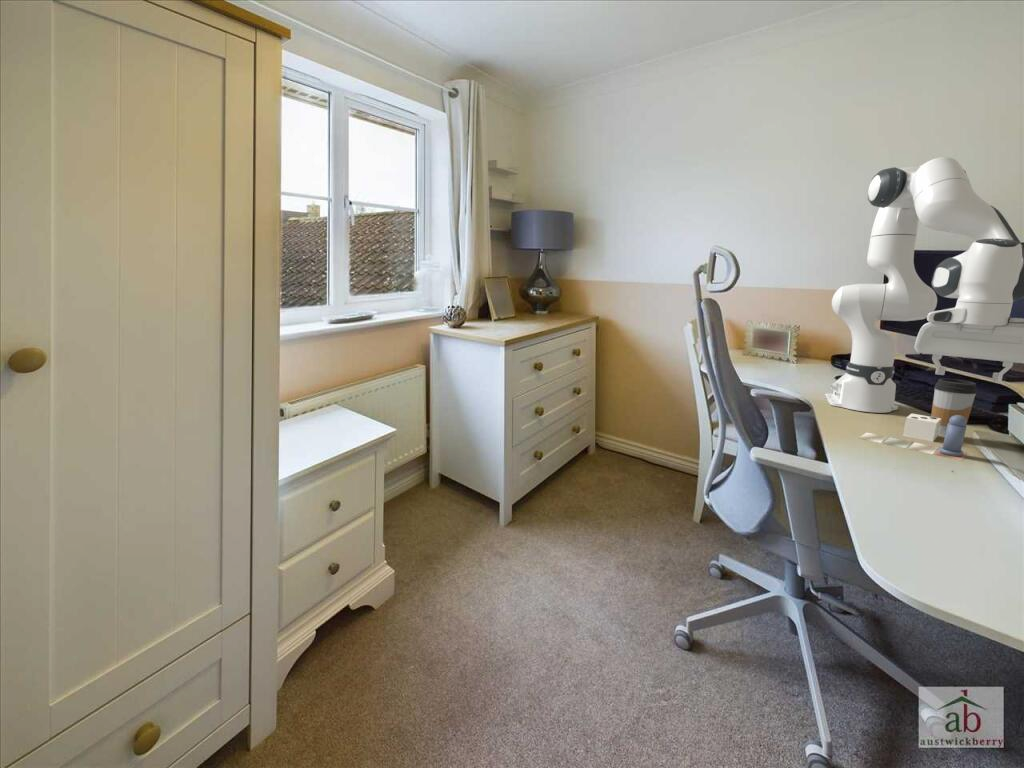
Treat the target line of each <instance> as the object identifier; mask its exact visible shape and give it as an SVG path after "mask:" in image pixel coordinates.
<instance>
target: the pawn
mask: <svg viewBox="0 0 1024 768" xmlns="http://www.w3.org/2000/svg"><path fill="white" fill-rule="evenodd" d="M967 424H968V421H967V420H966V419H965V418H964V417H963V416H961V415H954V416H952V417H951V418H950V419H949V423H948V425H947V429H946V434H945V436H944V440H943V444H942V446H940V447H939V450H940V451H939V450H938V451H939V452H940V453H941V454H944V455H947V456H952V457H962V455H963V452H964V451H963V450H962V448H963V444H964V439H965V434H966V431H967ZM965 425H966V426H965Z"/></svg>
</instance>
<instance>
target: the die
mask: <svg viewBox="0 0 1024 768" xmlns="http://www.w3.org/2000/svg"><path fill="white" fill-rule="evenodd" d="M940 422H941V418H935V417H931V416H929V415H928V416H927V415H924V414H917V413H910V414H909V415H908V416H906V417H905V423H904V428H903V434H902V436H903V437H908V438H912V439H918V440H921V441H922V440H923V441H928V442H934V441H936V439H937V438H938V435H939V434H938V432H939V427H940Z"/></svg>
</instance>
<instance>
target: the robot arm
mask: <svg viewBox="0 0 1024 768" xmlns="http://www.w3.org/2000/svg"><path fill="white" fill-rule="evenodd" d="M867 200H868V202H869V203H870V205H871V206H872V207H877V208H878V211H877V212H876V215H875V217H874V221H873V225H872V227H871V232H870V238H869V243H868V248H867V249H868V250H867V254H866V255H867V256H866V263H867V266H869V267H870V268H871V269H873V270H874V271H875V272H879V273H880V274H882V275H883V274H884V276H886V278H888V282H887V283H853V284H848V285H847V284H846V285H842V286H840V287H839V288H838V289H837V290H835V292H834V294H833V296H832V298H831V308H832V311H833V313H834V314H835V315H837V316H838V317H839V318H840V319H841V320H843V322H844V323H845V324H846V325H847V327H848V330H849V331H850V334H851V342H852V343H851V353H850V361H849V362H848V363H847V365H846V368H845V373H844V374H843V375H842V376H840V377H839V378H838V379H837V380H836V381H835V382H832V383H831V385H830V390H832V391H833V392H827V393H824V397H825V396H826V397H825V399H826V398H827V399H826V400H827V402H828V403H829V405H830V406H834V407H839V408H843V409H844V408H845V409H847V410H848V409H849V410H853V411H859V412H864V413H865V412H866V413H877V414H878V413H879V414H881V413H883V414H885V413H890V412H893V411H898V410H899V406H898V405H895V400H896V389H897V384H896V382H894V381H893V379H892V378H893V377H894V374H895V366H894V363H895V356H896V352H897V351H896V350H897V346H898V343H897V340H896V339H895V337H894V336H892V334H891V335H890V334H889V333H887V332H885V331H883V330H882V329H879V328H878V327H876V321H894V322H895V321H896V322H910V321H920V320H925V319H926V320H927V321H928V322H926V323H924V324H923V325H922V326H921V327H920V329H919V331H918V333H917V336H916V339H915V342H914V347H913V348H914V350H915V352H917V354H927V355H931V360H932V363H933V364H934V366H935V367H936V368H935V375H938V376H940V375H941V376H945V373H946V369H947V366H943V365H942V364H941V362H940V360H941V359H942V358H943V356H947V357H948V356H949V357H955V358H967V359H976V360H985V361H986V360H987V361H995V362H997V361H999V362H1002V367H1003V369H1002V370H1001V371H999V372H995V371H994V372H993V373H992V378H991V382H996V383H1001V382H1002V380H1003V376H1004V374H1005V373H1007V372H1008V371H1009V370H1010V369H1012V367H1013V365H1014V363H1015V364H1024V318H1023V317H1011V312H1012V307H1013V304H1014V302H1018V301H1019V300H1021V299H1023V298H1024V246H1023V244H1022V242H1021V241H1020V240H1019V237H1018V236H1017V235H1016V233H1015V231H1014V230H1013V228H1012V227H1011V225H1010V224H1009V223H1008V221H1007V220H1006V218H1005V217H1004V215H1003V214H1002V212H1001V211H1000V210H999V209H997V208H996V207H994V206H993V205H990V204H989V203H988V202H986V201H985V200H984V199H983V198H981V197H980V196H979V195H978V194H977V193H976V192H975V190H974V189H973V187H972V184H971V181H970V179H969V176H968V174H967V172H966V170H965V169H964V168H963V166H962V165H961V163H959V162H958V161H957V160H956V159H955V158H953V157H947V156H940V157H936V158H933V159H930V160H928V161H926V162H925V163H922V165H918V166H917V165H915V166H913V165H912V166H905V167H895V166H894V167H889V168H885V169H881V170H880V171H878V172H877V173H876V174H875V175H874V176H873V177H872V179H871V181H870V183H869V185H868V191H867ZM919 221H920V222H921V223H922V225H923V226H925V227H927V228H929V229H931V230H935V231H939V232H946V233H951V234H956V235H961V236H964V237H968V238H971V239H974V240H975V241H973V242H972V243H971V245H970V246H969V248H968V249H967V250H966V251H964V252H962V253H960V254H958V255H955V256H953V257H947V258H945V259H944V260H943V261H941V262H939V264H938V265H937V266H936V267H935V268H934V270H933V273H932V277H931V287H930V286H929V285H927V283H925V282H924V281H923V280H922V279H921V277H920V276H919V275H918V273H917V271H916V268H915V263H914V259H915V246H916V240H917V235H918V230H919V229H918V226H919ZM937 294H938V296H940V297H942V298H949V299H957V300H956V304H955V306H954V307H946V308H944V309H941V310H936V308H937V304H938V297H937ZM897 409H898V410H897Z"/></svg>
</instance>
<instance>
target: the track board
mask: <svg viewBox="0 0 1024 768" xmlns="http://www.w3.org/2000/svg"><path fill="white" fill-rule="evenodd" d="M858 439H860V440H864V441H869V442H874V443H879V444H883V445H887V446H892V447H897V448H900V449H901V448H902V449H904V450H905V449H908V450H911V451H915V452H920V453H925V454H930V455H935V456H937V457H943V458H947V459H953V460H957V461H963V460H964V458H965V456H967V452H964V451H963V455H962V457H952V456H947V455H944V454H941V453H940V452H939V451H940V447H939V446H933V445H929V444H926V443H925V444H924V443H920V442H914V443H913V441H911V440H905V439H900V438H895V437H890V436H889V437H888V436H886V435H881V434H876V433H871V432H865V433H864V434H862V435H861V436H859V437H858Z"/></svg>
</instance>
